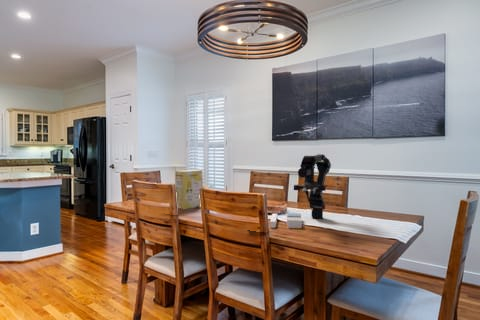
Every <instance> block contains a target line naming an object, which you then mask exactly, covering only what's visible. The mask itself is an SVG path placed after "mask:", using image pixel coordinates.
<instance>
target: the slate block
mask: <svg viewBox="0 0 480 320" xmlns="http://www.w3.org/2000/svg"><path fill="white" fill-rule="evenodd" d="M287 217H299V218H301V219H302V213H298V212H296V213H294V212H287V215H286V218H287Z"/></svg>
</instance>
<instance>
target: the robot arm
mask: <svg viewBox="0 0 480 320" xmlns="http://www.w3.org/2000/svg"><path fill="white" fill-rule="evenodd" d="M299 167H300V168H299V169H298V170H297V174H298V176H299V177H300V178H302V179H303V178H304V181H303V182H304V183H303V184H304V185H301V184H294V185H293V191H300V190H302V192H304V193H305V195H306V198H307V201H308V203H309V209H311V218H312V219H315V220H316V219H320V220H321V219H322V220H323V219H324V217H323V216H324V214H323V213H324V210H326V203H325V202H324V197H323V191H325V192H326V186H325V181H326V175H327V174H328V173H329V172H330V170H331V167H332V164H331V162H330V159H329V158H327V157H326V155H325V154H320V153H319V154H315V155H304V156H303V157H302V160H301V163H300V166H299ZM315 167H316V168H317V172H318V174H317V179H316V181H315Z"/></svg>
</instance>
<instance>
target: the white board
mask: <svg viewBox="0 0 480 320" xmlns="http://www.w3.org/2000/svg"><path fill="white" fill-rule="evenodd" d="M277 221H278V213H272V214H271V217H270V222H269V228H276V226H277V224H278V223H277Z"/></svg>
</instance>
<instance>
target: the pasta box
mask: <svg viewBox="0 0 480 320" xmlns="http://www.w3.org/2000/svg"><path fill="white" fill-rule="evenodd" d="M174 172H175V173H174V177H175V178H174V182H175V183H174V185H176V192H177V204H178V208H177V209H180V208H181V209H180V210H189V209H193V208H198V207H197V206H200V198H199V188H203V170H201V169H200V170H199V169H188V170H187V169H186V170H175V171H174ZM200 207H201V206H200ZM188 208H189V209H188Z"/></svg>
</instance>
